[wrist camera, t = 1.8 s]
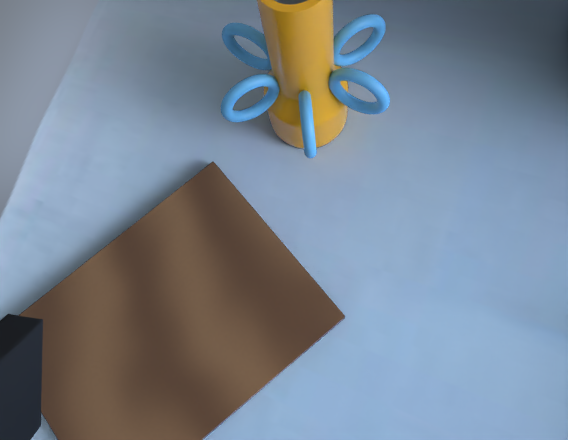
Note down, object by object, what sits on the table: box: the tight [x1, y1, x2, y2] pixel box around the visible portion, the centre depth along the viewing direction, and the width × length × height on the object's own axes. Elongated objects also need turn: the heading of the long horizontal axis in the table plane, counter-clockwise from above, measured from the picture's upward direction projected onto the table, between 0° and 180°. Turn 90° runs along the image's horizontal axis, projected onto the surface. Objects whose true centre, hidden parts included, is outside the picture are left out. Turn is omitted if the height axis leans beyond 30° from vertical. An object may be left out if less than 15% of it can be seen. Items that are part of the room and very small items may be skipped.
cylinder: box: [221, 0, 390, 158], centre depth 34 cm, size 12×10×15 cm
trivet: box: [18, 162, 345, 440], centre depth 37 cm, size 20×15×1 cm
